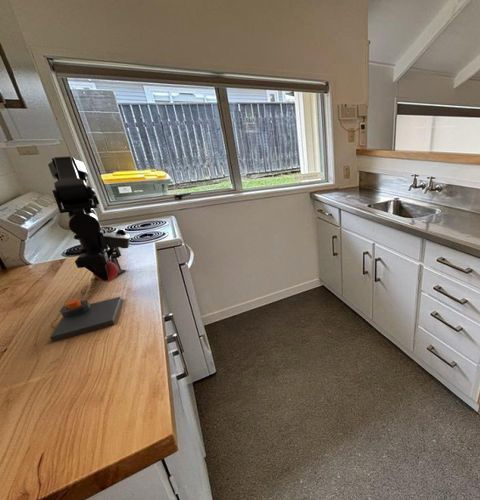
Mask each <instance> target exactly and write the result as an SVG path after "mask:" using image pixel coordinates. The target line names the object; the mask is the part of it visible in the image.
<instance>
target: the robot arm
mask: <svg viewBox="0 0 480 500" xmlns="http://www.w3.org/2000/svg"><path fill="white" fill-rule="evenodd" d="M47 166H48V169H49V171H50V174H51V176H52V177H53V179H54V180H57V181H55V182H53V186H54V187H53V188H54V189H52V190H51V191H52V194H53V197H54V199H55V202H56V206H57V208H58V211H59V213H60V214H65V213H68V214H67V217H68V218H69V221H68V228H69V230H70V231H71V232H72V233H73V234H74V239H75V240H78V242H79V243H80V246H81V247H80V250H79V251H80V254H79V256H78V257H76V259H75V260H74V263H75V266H76V267H77V269H83V268H85V269H86V270H88V271H89V272H91V274H93V273H94V274H95V275H96V276H98V277H99V278H100V279H102V280H101V281H103V282H106V281H108V280H109V279H108V273H107V267H106V263H107V262H108V261H111V262H113V263H114V264H115V265H116V266H117V267H118V274H117V276H119V275H121V274H123V273H125V272H126V269H122V268H121V265H120V263H119V260H118V259H119V258H120V257H121V256H122V253H121V251H120V248H121V249H128V248H129V246H130V242H131V235H130V233H128V232H127V231H126V229H122V228H119V229H118V230H117V231H116V232H108V231H107V229H106V228H105V227H102V224H101V222H100V220H99V217H98V214H97V212H96V210H95V209H98V208H99V206H98V205H100V202H99V199H98V197H97V193H96V191H95V189H94V188H92V186H90V185H88V184H89V181H88V177H89V174H88V171H87V168H86V165H85V163H84V161H81V160H78V159H76V158H75V157H74V156H54V157H52V158H51V162H49V163H48V164H47ZM93 277H94V279H95V280H98V279H97V278H96V277H95V276H93Z"/></svg>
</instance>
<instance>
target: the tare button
mask: <svg viewBox="0 0 480 500" xmlns="http://www.w3.org/2000/svg"><path fill="white" fill-rule="evenodd" d="M80 301H81V300H80V299H79V298H73V299H69V300H68V301H66V302H65V306H67V308H68V309H74V308H77V307H79V306H81V305H82V304H81V302H80Z"/></svg>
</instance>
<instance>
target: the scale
mask: <svg viewBox="0 0 480 500" xmlns="http://www.w3.org/2000/svg"><path fill="white" fill-rule="evenodd" d="M80 302H81V304H82V305H81V306H79V307H77V308H74V309H68V308H67V306H66V305H64V306H62V307H61V308H60V310H59V312H60V314H61V316H62V318H61V319H60V321H59V322H58V323H57V325H56V327H55V329H54V330H53V332H52V333H51V335H50V337H49V338H50V340H51V342H52V343H53V342H55V341H60V340H63V339H67V338H70V337H74V336H78V335H81V334H85V333H88V332H92V331H96V330H99V329H104V328H106V327H109V326H113V325H115V324H116V321H117V318H118V315H119V312H120V308H121V306H122V302H123V299H122V296H116V297H113V298H109V299H105V300H101V301H98V302H97V301H96V302H94V303H90V302H89V301H88V300H86V299H83V300H82V299H81V300H80Z"/></svg>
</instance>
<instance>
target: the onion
mask: <svg viewBox="0 0 480 500" xmlns="http://www.w3.org/2000/svg"><path fill="white" fill-rule="evenodd" d="M106 267H107V273H108V279H109V280H108V281H105V282H106V283H111V282H113V280H114V279H115V278H116V277H117V276H118V275H117V274H118V267H117V266H116V265H115V264H114V263H113V262H111V261H108V262H107V263H106ZM92 274H93V277H96V278H97V279H96V280H100V281H103V280H102V279H100V278H99V277H98V276H96V275H95V274H94V273H92Z"/></svg>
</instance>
